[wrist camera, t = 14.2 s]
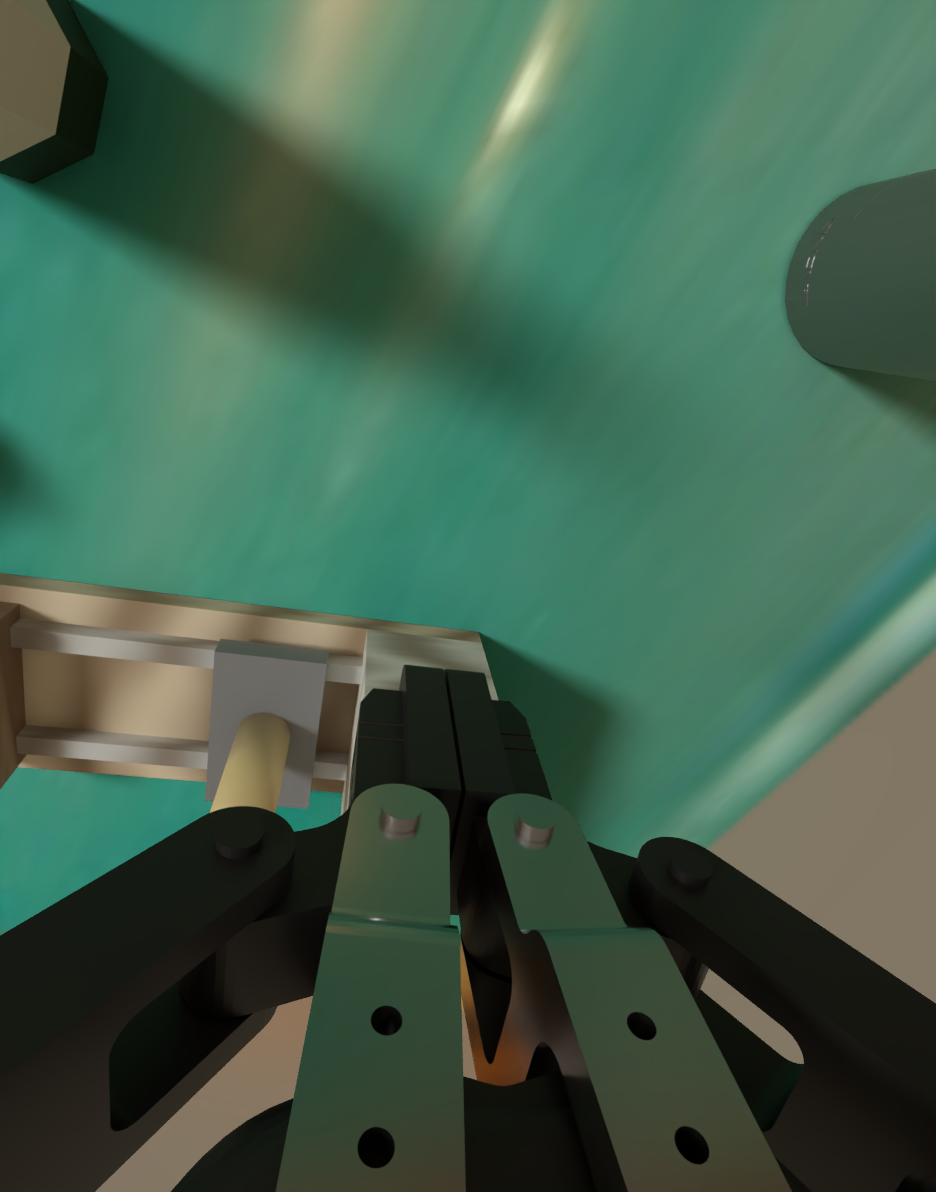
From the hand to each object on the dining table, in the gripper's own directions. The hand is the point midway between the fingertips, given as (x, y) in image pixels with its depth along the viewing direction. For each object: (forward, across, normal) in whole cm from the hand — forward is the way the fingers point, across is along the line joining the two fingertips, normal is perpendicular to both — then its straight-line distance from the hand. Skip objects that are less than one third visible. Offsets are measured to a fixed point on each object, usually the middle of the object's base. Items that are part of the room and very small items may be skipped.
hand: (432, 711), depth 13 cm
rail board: (+28, +8, +17) cm, 34 cm away
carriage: (+25, +6, +17) cm, 31 cm away
